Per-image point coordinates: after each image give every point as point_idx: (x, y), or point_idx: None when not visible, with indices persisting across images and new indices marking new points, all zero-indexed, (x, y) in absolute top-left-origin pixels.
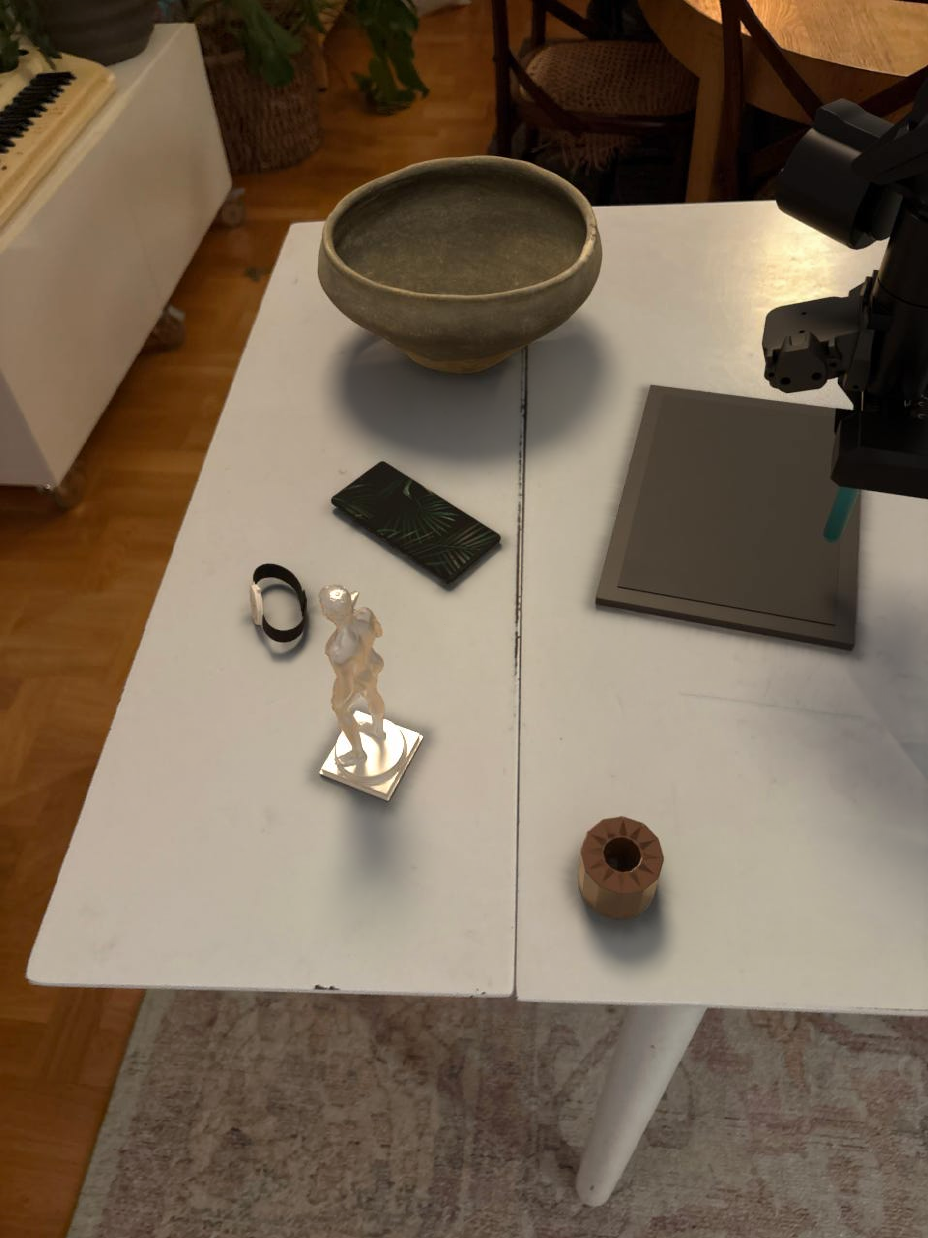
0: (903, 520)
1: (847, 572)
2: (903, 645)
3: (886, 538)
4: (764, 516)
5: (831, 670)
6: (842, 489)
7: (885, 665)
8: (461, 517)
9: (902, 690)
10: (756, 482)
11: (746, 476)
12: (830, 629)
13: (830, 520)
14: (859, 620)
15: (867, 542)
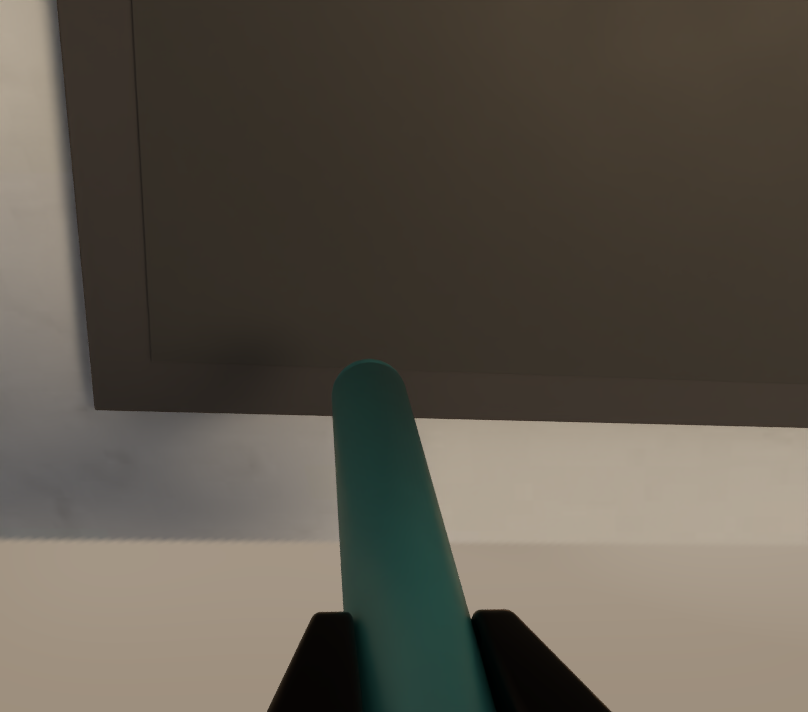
0: (610, 513)
1: None
2: (169, 510)
3: (544, 476)
4: (602, 136)
5: (12, 343)
6: (364, 546)
7: (84, 472)
8: None
9: (12, 507)
10: (772, 106)
11: (806, 67)
12: (132, 346)
13: (353, 412)
14: (229, 413)
15: (526, 433)
